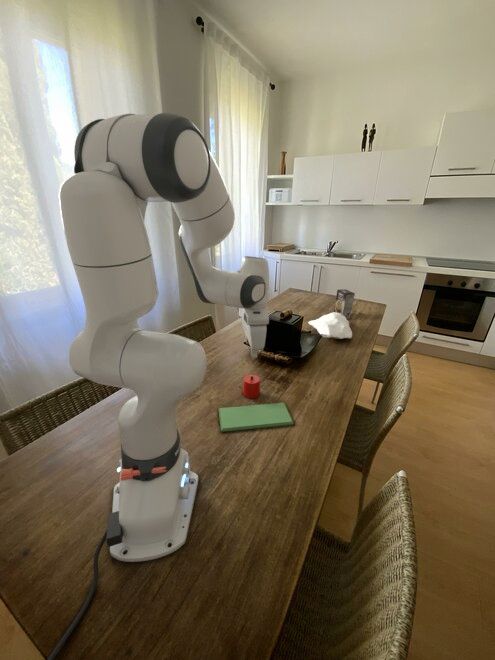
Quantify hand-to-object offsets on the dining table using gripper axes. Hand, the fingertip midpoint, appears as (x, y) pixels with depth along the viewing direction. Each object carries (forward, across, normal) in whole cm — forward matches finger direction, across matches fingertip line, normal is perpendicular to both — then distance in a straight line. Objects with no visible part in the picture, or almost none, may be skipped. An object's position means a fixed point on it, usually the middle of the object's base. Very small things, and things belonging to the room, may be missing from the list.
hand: (251, 350), depth 91 cm
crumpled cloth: (+16, -48, +52) cm, 73 cm away
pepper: (+17, -1, +1) cm, 17 cm away
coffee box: (+16, -72, +71) cm, 102 cm away
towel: (+18, +12, 0) cm, 21 cm away
